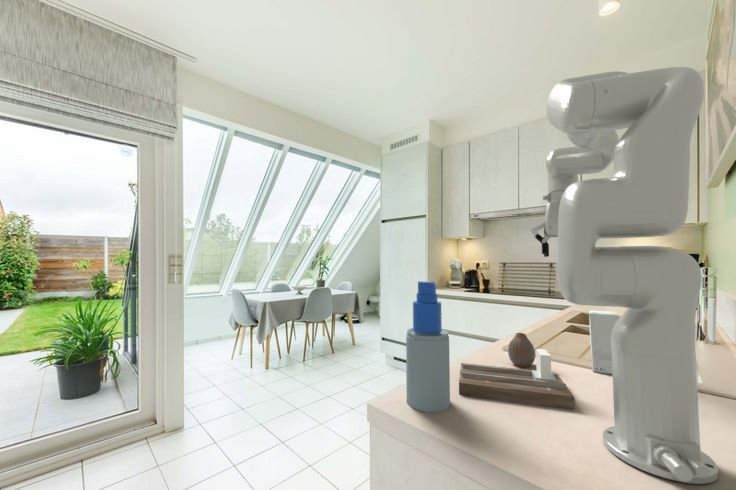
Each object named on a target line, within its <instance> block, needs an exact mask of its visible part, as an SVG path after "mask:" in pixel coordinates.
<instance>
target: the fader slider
mask: <svg viewBox="0 0 736 490" xmlns="http://www.w3.org/2000/svg"><path fill="white" fill-rule="evenodd" d="M551 359H552V356H551V354H550V353H549V352H548V350H547V349H542V348H536V349H535V361H536V367H535V368H536V369H535V370H534V369H533V370H532V369H531V370H532V376H533V378H534V380H540V381H549V382H557V380H556V378H555V377H554V375H553V374H552V373H551V372H552V360H551Z"/></svg>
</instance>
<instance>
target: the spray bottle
mask: <svg viewBox="0 0 736 490" xmlns="http://www.w3.org/2000/svg"><path fill="white" fill-rule="evenodd" d="M436 287H437V284H436V281H422V280H421V281H420V280H419V281H417V293H416V300H414V301H412V328H408V329H407V331H406V335H405V338H406V339H405V341H406V342H405V347H406V349H405V352H406V354H405V355H406V359H405V360H406V361H405V362H406V363H405V364H406V367H405V368H406V379H405V380H406V381H405V382H406V403H407V405H408V406H409V407H411V408H412V409H414V410H417V411H420V412H425V413H439V412H444V411H446V410H447V409H449V408H450V405H451V393H450V392H451V380H450V377H451V376H450V372H451V371H450V370H451V369H450V336H449V332H448V331H447V330H446V329H442V326H443V325H442V324H443V322H442V302H441V301H439V300H438V293H437V288H436Z"/></svg>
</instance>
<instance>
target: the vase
mask: <svg viewBox="0 0 736 490" xmlns="http://www.w3.org/2000/svg"><path fill="white" fill-rule="evenodd" d="M507 352H508V353H507V355H508V358H509V360H510V362H511V363H512V364H513V365H514V366H516V367H520V368H530V367H531V366H532V365H533V364H534V362H535V361H536V349H535V346H534V344H533V343H532V342H531V340H530V339H529V338H528V336H527V334H526V333H524V332H517V333H515V335H514V337H513V338H512V339H511V341H510V342H509V344H508V347H507Z"/></svg>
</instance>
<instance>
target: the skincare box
mask: <svg viewBox="0 0 736 490" xmlns="http://www.w3.org/2000/svg"><path fill="white" fill-rule="evenodd" d="M588 312H589V315H588V316H589V317H588V319H589V322H588V323H589V342H590V356H591V369H592V370H591V371H592V372H595V373H600V374H605V375H610V376H611V375H612V350H611V334H612V330H613V327H614V325H615V323H616V322H617V321H618V319H619V318H620V316H619V313H618V312H617V311H612V310H611V311H610V310H609V311H608V310H593V309H592V310H589V311H588ZM612 376H613V375H612Z"/></svg>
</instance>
